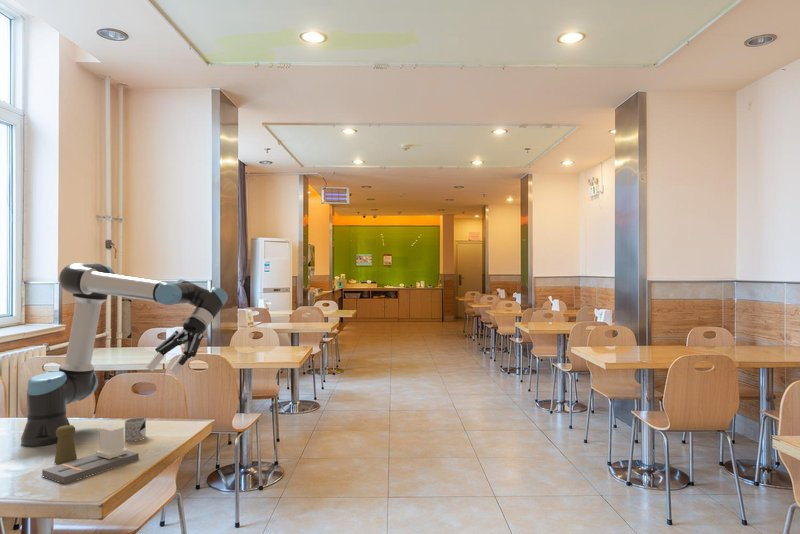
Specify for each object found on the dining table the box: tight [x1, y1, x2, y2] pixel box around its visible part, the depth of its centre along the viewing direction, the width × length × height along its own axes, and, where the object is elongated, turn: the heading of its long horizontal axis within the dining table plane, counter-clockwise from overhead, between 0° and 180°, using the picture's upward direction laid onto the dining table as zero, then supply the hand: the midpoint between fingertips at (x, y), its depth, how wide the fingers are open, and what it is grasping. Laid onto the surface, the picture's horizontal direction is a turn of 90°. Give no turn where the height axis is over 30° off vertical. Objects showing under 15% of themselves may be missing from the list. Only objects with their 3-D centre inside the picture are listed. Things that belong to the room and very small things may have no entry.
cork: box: [53, 424, 78, 465], centre depth 163 cm, size 6×6×11 cm
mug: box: [124, 417, 147, 442], centre depth 187 cm, size 10×7×7 cm
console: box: [41, 450, 140, 485], centre depth 156 cm, size 22×12×2 cm, turn 150°
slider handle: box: [95, 424, 129, 459], centre depth 161 cm, size 6×7×8 cm
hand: (160, 370), depth 177 cm, fingers open, 12 cm apart
